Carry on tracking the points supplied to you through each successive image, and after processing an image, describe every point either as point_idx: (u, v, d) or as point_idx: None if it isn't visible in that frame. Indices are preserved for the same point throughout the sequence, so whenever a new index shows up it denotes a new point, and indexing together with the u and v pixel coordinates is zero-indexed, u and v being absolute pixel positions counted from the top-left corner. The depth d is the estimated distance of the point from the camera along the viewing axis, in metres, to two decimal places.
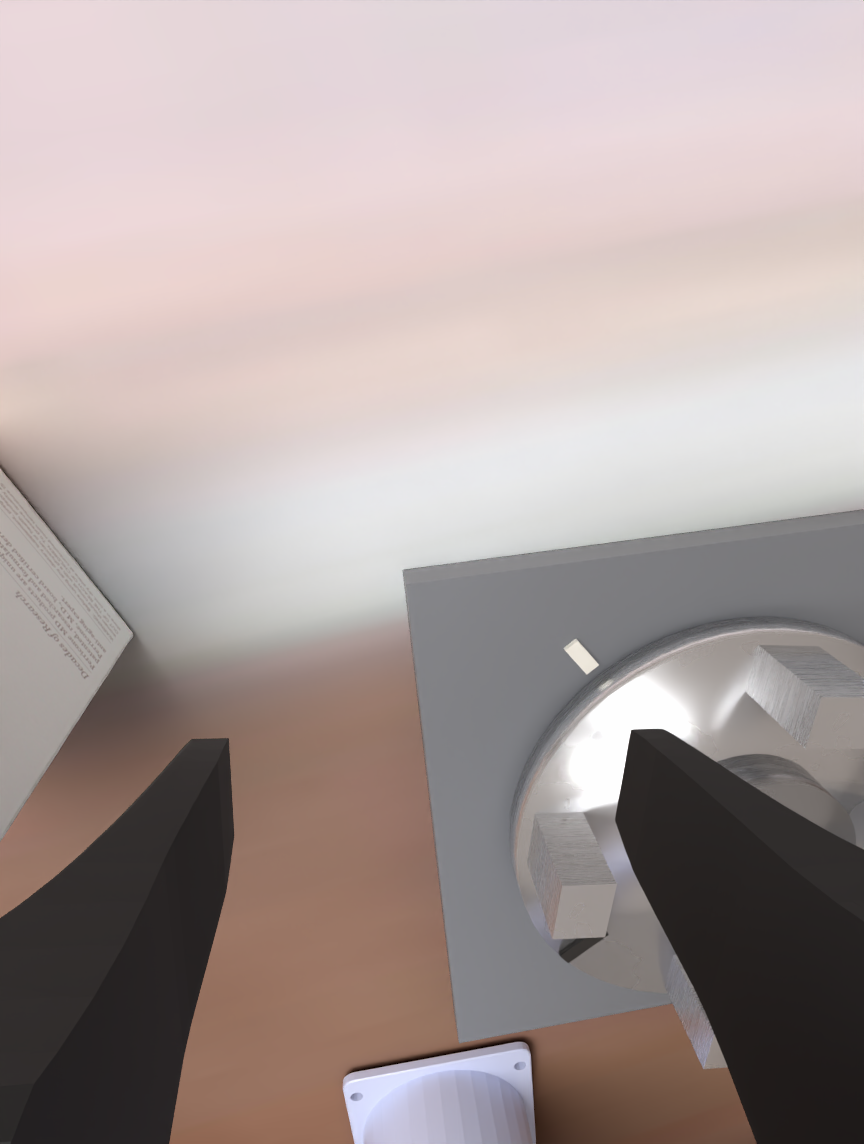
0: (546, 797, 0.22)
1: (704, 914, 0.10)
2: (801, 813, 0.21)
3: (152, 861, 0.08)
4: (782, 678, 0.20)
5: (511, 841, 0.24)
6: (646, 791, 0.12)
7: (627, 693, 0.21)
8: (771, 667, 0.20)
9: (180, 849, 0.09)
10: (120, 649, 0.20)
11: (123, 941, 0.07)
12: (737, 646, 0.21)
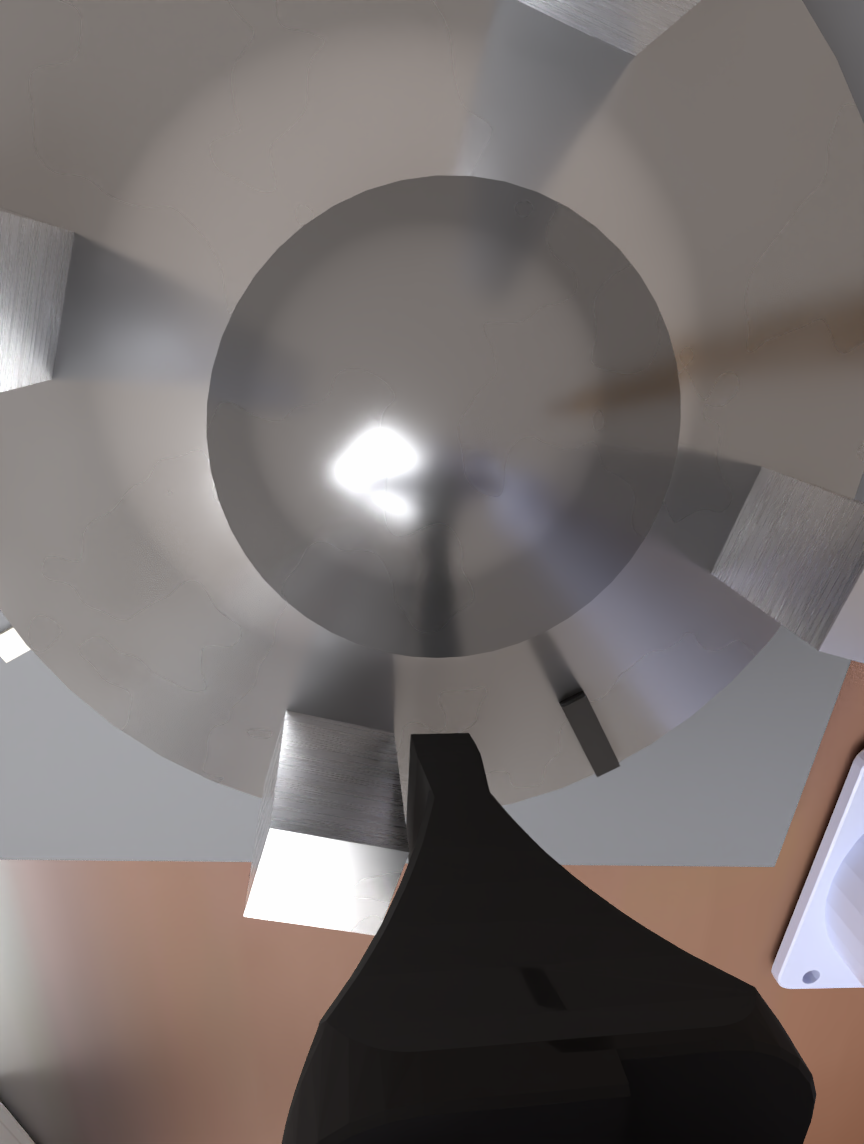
0: (235, 763, 0.13)
1: None
2: (309, 333, 0.09)
3: (494, 846, 0.09)
4: None
5: None
6: (414, 799, 0.11)
7: (23, 617, 0.11)
8: None
9: None
10: None
11: (529, 917, 0.07)
12: None
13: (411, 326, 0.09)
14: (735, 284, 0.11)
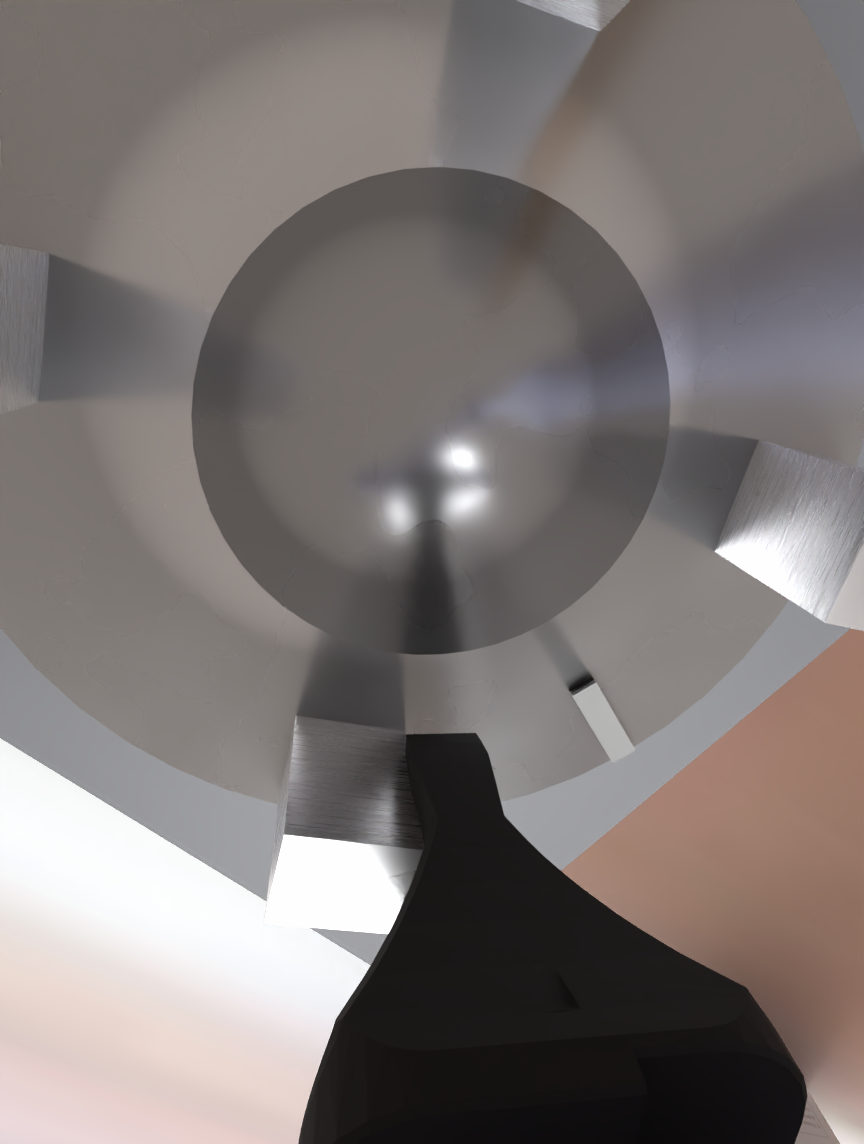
0: (249, 771, 0.13)
1: None
2: (287, 337, 0.09)
3: (504, 845, 0.09)
4: None
5: None
6: None
7: (29, 639, 0.11)
8: None
9: None
10: None
11: (541, 917, 0.07)
12: None
13: (390, 323, 0.09)
14: (719, 256, 0.10)
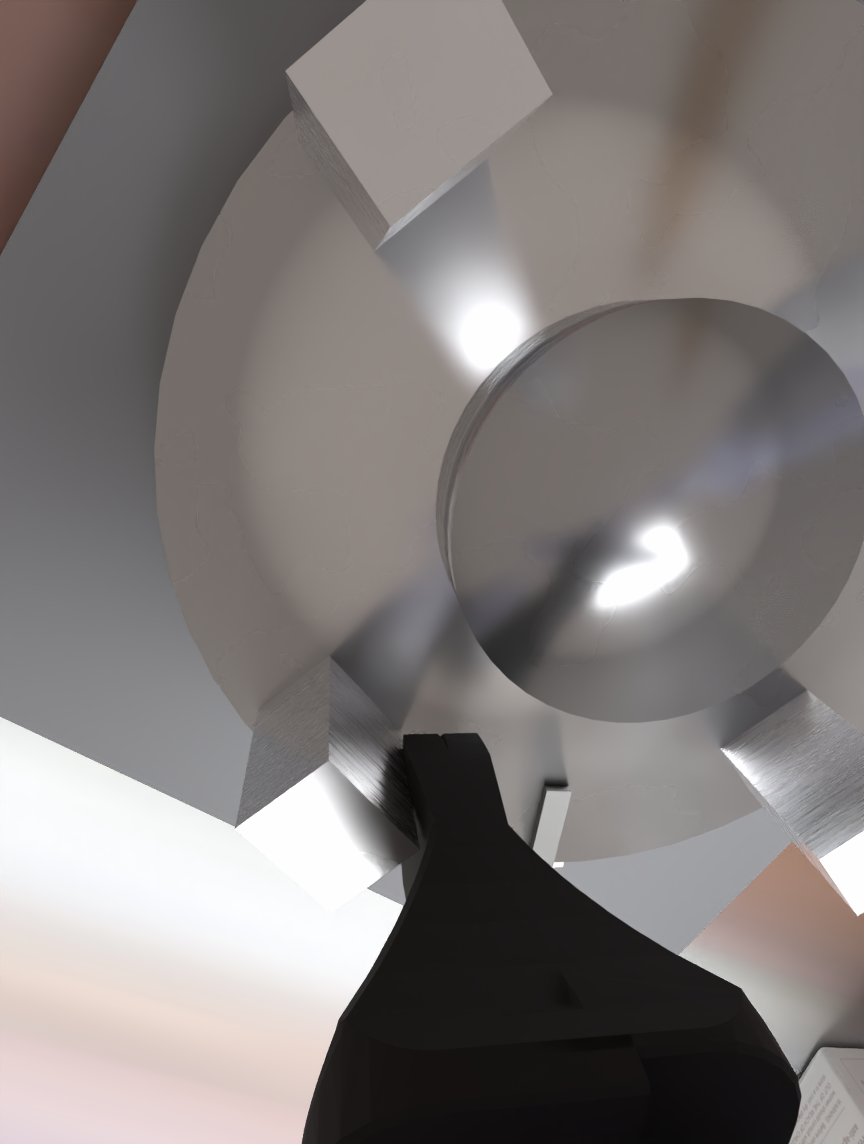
0: (247, 676, 0.12)
1: None
2: (640, 375, 0.09)
3: (506, 845, 0.09)
4: (314, 145, 0.08)
5: None
6: None
7: (173, 424, 0.10)
8: (313, 152, 0.09)
9: None
10: (844, 1091, 0.20)
11: (543, 916, 0.07)
12: (264, 180, 0.09)
13: (710, 425, 0.10)
14: None
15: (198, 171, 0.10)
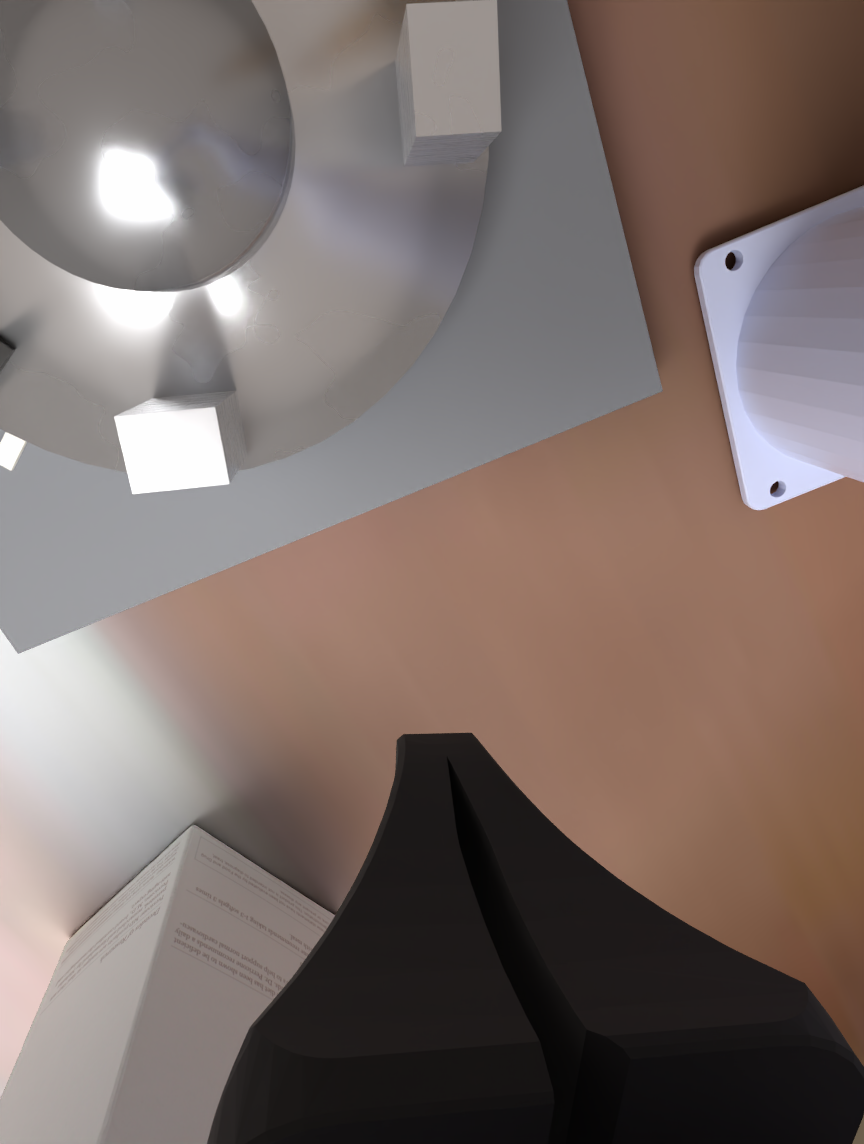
0: None
1: None
2: None
3: (450, 847, 0.09)
4: None
5: None
6: None
7: None
8: None
9: None
10: (182, 851, 0.23)
11: (478, 920, 0.07)
12: None
13: (176, 45, 0.13)
14: (326, 303, 0.16)
15: None
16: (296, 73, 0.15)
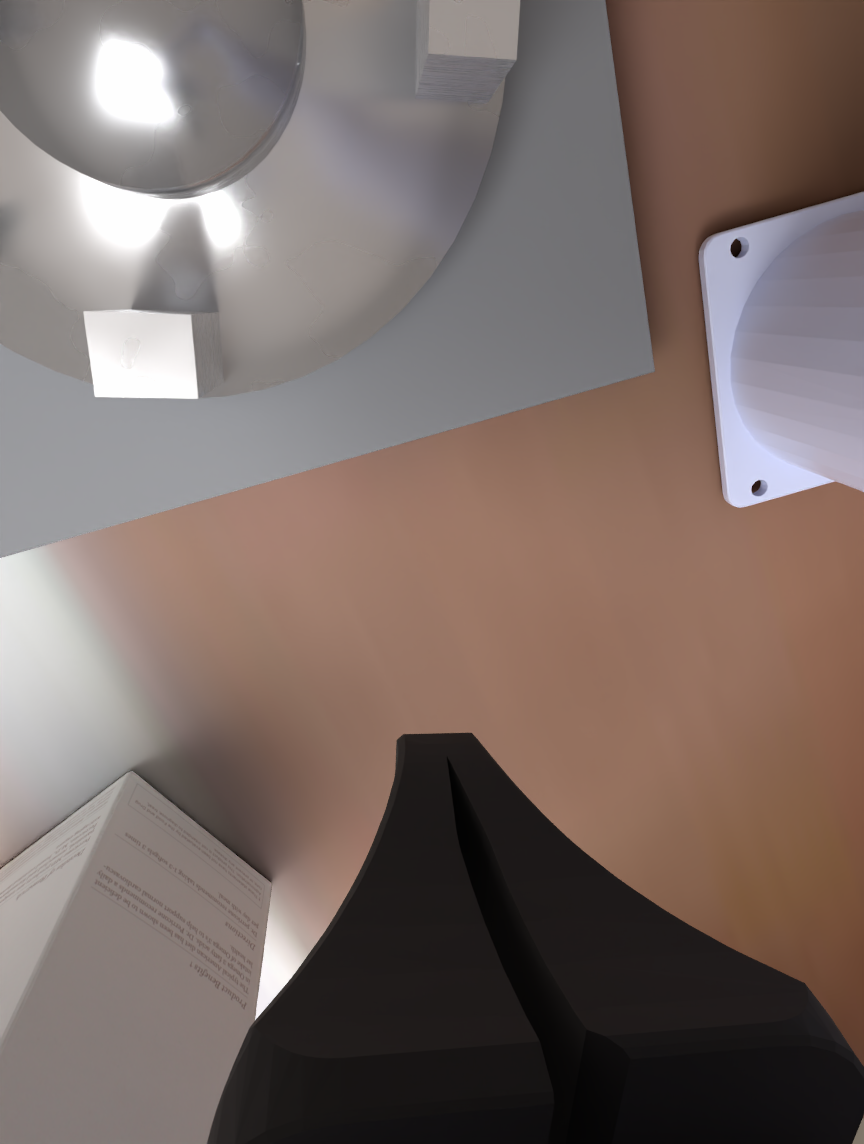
0: None
1: None
2: None
3: (450, 847, 0.09)
4: None
5: None
6: None
7: None
8: None
9: None
10: (115, 795, 0.22)
11: (478, 920, 0.07)
12: None
13: None
14: (320, 232, 0.16)
15: None
16: None
